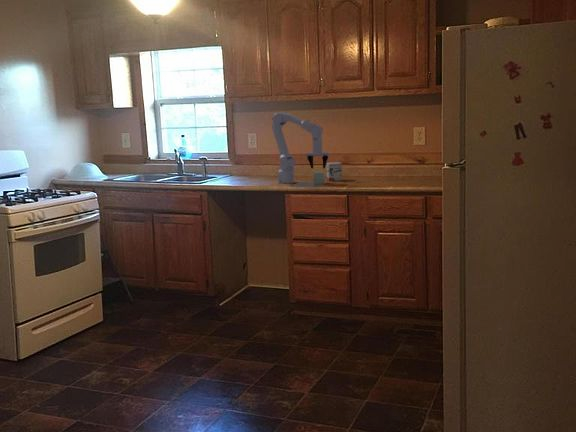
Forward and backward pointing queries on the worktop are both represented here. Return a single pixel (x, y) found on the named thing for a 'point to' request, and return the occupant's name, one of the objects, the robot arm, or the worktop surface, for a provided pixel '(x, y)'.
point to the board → (306, 184)
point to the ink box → (334, 171)
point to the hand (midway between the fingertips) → (318, 168)
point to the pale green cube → (318, 177)
